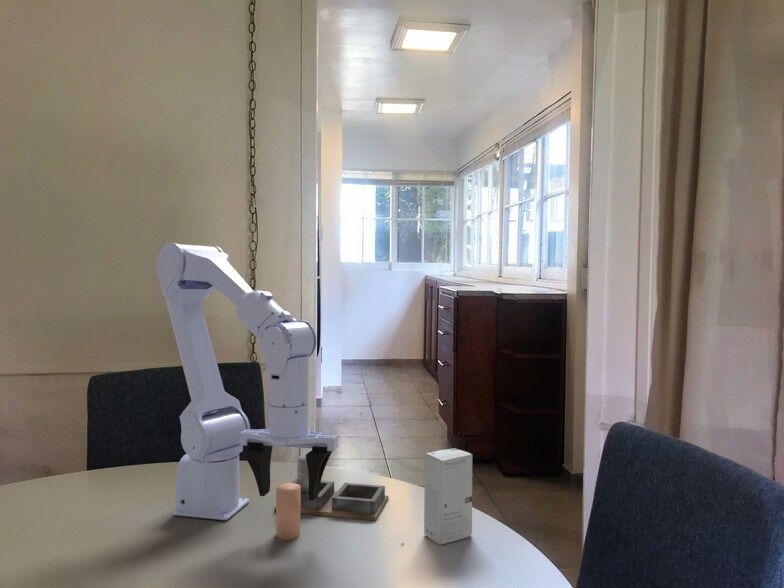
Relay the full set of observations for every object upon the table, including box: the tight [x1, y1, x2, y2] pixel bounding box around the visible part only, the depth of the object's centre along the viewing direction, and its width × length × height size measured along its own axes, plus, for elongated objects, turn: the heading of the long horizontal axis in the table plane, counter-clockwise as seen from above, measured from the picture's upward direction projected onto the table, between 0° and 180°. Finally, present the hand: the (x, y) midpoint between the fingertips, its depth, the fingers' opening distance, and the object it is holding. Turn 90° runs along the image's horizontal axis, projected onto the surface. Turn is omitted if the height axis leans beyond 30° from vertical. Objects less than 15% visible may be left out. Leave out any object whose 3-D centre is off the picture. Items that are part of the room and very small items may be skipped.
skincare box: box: [423, 447, 473, 546], centre depth 82 cm, size 6×4×12 cm
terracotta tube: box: [275, 482, 301, 541], centre depth 82 cm, size 4×4×7 cm
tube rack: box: [274, 454, 390, 522], centre depth 93 cm, size 17×9×8 cm, turn 78°
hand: (288, 495), depth 82 cm, fingers open, 7 cm apart
